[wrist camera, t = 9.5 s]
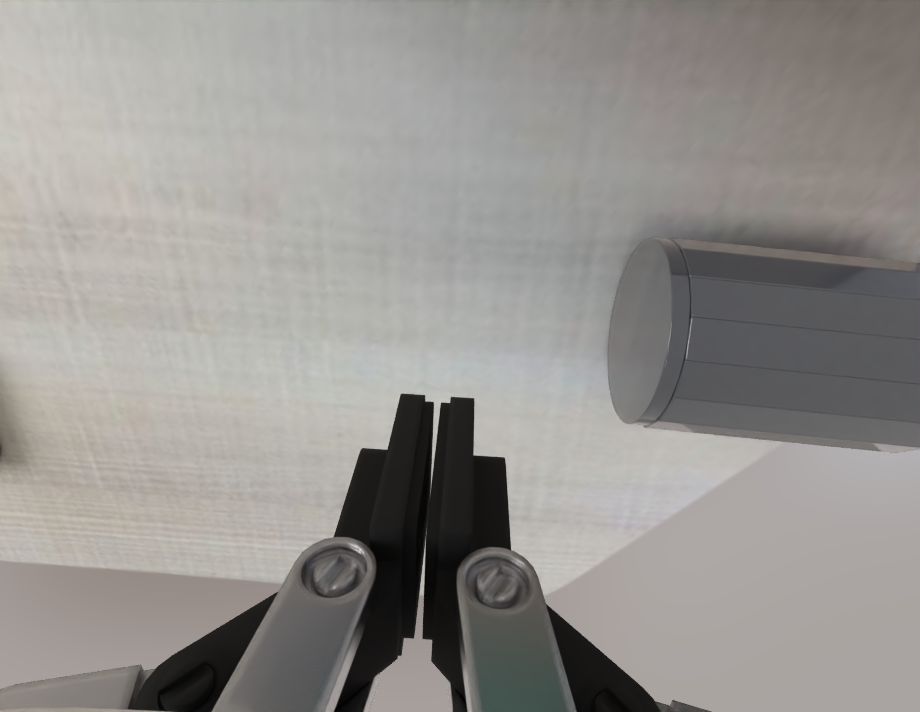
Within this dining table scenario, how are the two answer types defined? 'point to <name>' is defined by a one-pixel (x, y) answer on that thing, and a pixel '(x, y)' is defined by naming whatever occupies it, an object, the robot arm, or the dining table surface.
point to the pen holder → (768, 345)
